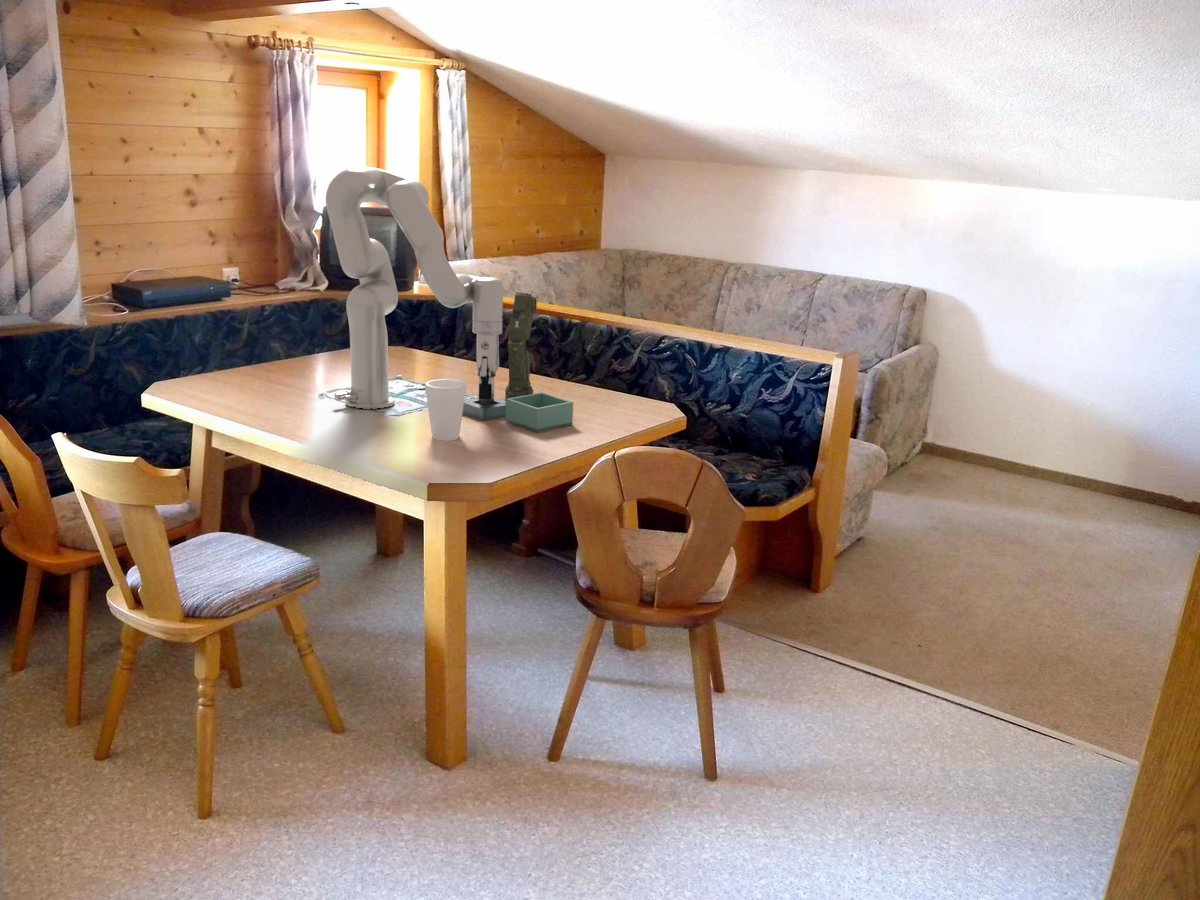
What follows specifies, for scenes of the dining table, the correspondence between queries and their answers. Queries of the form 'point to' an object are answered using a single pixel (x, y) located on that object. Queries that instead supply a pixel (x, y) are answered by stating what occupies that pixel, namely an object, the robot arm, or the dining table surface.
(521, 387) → the mechanical leg
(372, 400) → the robot arm
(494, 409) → the socket block
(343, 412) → the dining table surface
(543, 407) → the bin
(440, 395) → the foam cup
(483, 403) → the metal peg
